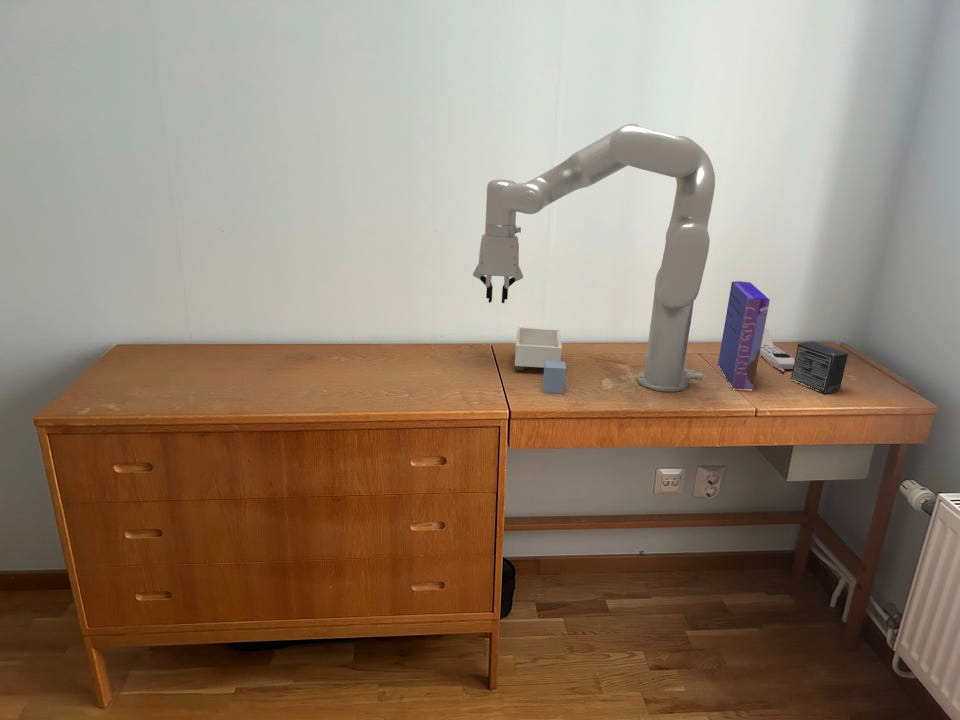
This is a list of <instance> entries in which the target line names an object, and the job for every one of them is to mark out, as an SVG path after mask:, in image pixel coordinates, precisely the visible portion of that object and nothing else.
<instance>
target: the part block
mask: <svg viewBox="0 0 960 720" xmlns="http://www.w3.org/2000/svg"><path fill="white" fill-rule="evenodd" d="M566 364H567V363H566V361H563V360H561V361H549V360H545V365H544V369H543V378H542V379H543V381H542V392H543V393H544V394H545V393H546V394H561V395H565V386H566V374H567V365H566Z"/></svg>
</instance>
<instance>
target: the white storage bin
mask: <svg viewBox="0 0 960 720" xmlns="http://www.w3.org/2000/svg"><path fill="white" fill-rule="evenodd" d="M515 339H516V340H515V356H514V366H515V368H516V370H517V371H518V372H523V371H524V370H525V369H526V368H528V367H529V368H542V369H543V368H544V365H545V360H549V361H562V351H563V346H562V340H561V339H562V338H561V329H555V328H536V327H535V328H534V327H519V326H517V329H516V338H515Z"/></svg>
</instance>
